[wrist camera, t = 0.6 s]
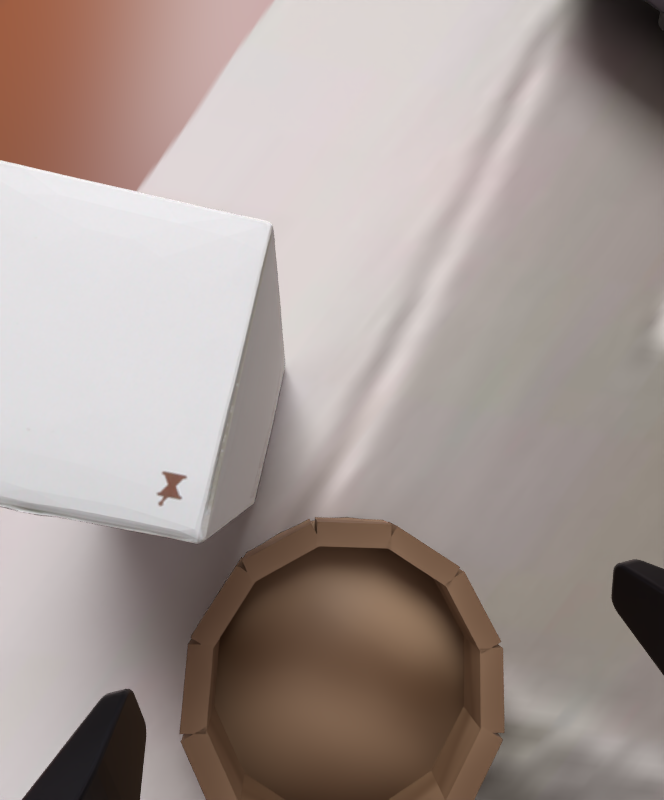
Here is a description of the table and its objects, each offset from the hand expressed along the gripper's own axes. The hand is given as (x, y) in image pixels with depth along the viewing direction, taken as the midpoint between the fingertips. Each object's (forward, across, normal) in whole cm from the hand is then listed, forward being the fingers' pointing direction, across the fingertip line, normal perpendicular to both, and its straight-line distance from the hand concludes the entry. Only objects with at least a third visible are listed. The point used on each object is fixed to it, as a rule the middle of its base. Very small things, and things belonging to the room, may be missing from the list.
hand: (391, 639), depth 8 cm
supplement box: (+15, +5, 0) cm, 16 cm away
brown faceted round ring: (+9, +1, +11) cm, 14 cm away
